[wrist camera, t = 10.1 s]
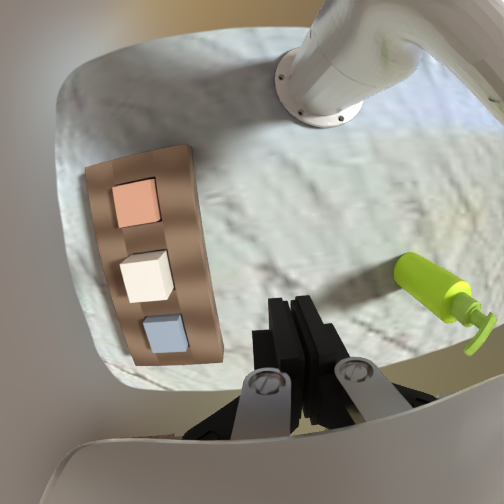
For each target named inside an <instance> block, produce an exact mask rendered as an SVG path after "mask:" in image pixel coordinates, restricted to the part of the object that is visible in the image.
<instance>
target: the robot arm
mask: <svg viewBox="0 0 504 504" xmlns="http://www.w3.org/2000/svg"><path fill="white" fill-rule="evenodd" d="M423 50H425V51H426V52H427V53H429V54H430V55H431V56H432V57H434V58H435V59H436V60H437V61H438V62H439V63H441V64H442V65H443V66H445V67H446V68H448V69H449V70H450V71H451V72H452V73H453V74H454V75H455V76H456V77H457V78H458V79H459V80H460V81H461V82H462V83H463V84H464V85H465V86H466V87H467V88H468V89H469V90H470V91H471V92H472V93H473V94H474V95H475V96H476V97H477V98H478V99H479V101H480V102H481V103H482V104H483V105H484V106H485V107H486V108H487V110H488V111H489V112H490V113H491V114H492V115H493V116H494V117H495V118H496V119H497V120H498V121H499V122H500V123H501V124H502V125H503V126H504V0H325V2H324V4H323V6H322V7H321V9H320V11H319V13H318V15H317V17H316V19H315V20H314V22H313V24H312V26H311V28H310V30H309V32H308V33H307V35H306V37H305V39H304V41H303V43H302V45H301V46H300V47H297V48H294V49H293V50H291V51H289V52H288V53H287V54H286V55H285V56H284V57H283V58H282V59H281V61H280V62H279V64H278V67H277V69H276V73H275V88H276V93H277V95H278V97H279V100H280V101H281V103H282V104H283V106H284V107H285V109H286V110H287V111H288V112H289V113H290V114H291V115H293V116H294V117H295V118H297V119H298V120H300V121H302V122H304V123H306V124H309V125H312V126H315V127H322V128H330V127H336V126H340V125H342V124H345V123H347V122H348V121H350V120H352V119H353V118H354V117H355V116H356V115H357V114H358V112H359V111H360V109H361V107H362V105H363V102H364V100H366V99H368V98H370V97H372V96H374V95H375V94H377V93H379V92H381V91H383V90H386V89H388V88H390V87H392V86H394V85H395V84H397V83H399V82H401V81H403V80H405V79H407V78H408V77H410V76H411V75H412V74H413V73H414V72H415V70H416V69H417V67H418V66H419V64H420V61H421V59H422V54H423ZM279 78H282V80H279ZM298 112H301V115H299V114H298ZM338 118H340V121H339V120H338ZM268 310H269V330H256V331H252V339H253V355H254V371H252V372H251V373H249V374H248V375H247V376H246V377H245V379H244V381H243V386H242V391H241V395H240V396H239V397H237V398H236V399H234V400H233V401H232V402H230V403H229V404H227V405H226V406H224V407H223V408H221V409H220V410H218V411H217V412H215V413H214V414H212V415H211V416H210V417H208V418H206V419H205V420H203V421H202V422H201V423H199V424H197V425H196V426H194V427H193V428H191V429H190V430H188V431H187V432H186V433H185V434H184V436H175V434H165V435H155V436H141V437H122V438H121V437H120V438H115V439H107V440H100V441H94V442H90V443H86V444H82V445H80V446H78V447H76V448H74V449H73V450H71V451H70V452H69V453H68V454H67V455H66V456H65V457H64V458H63V459H62V461H61V462H60V463H59V465H58V467H57V468H56V470H55V471H54V473H53V475H52V477H51V479H50V480H49V483H48V485H47V487H46V489H45V492H44V494H43V496H42V498H41V501H40V503H39V504H504V374H501V375H498V376H495V377H493V378H490V379H487V380H485V381H483V382H480V383H478V384H475V385H473V386H471V387H468V388H466V389H464V390H461V391H458V392H453V393H447V394H440V395H438V396H437V398H435V397H434V396H432V395H430V394H427V393H424V392H420V391H417V390H414V389H410V388H407V387H404V386H401V385H397V384H394V383H391V382H390V381H389V380H388V379H387V377H386V376H385V375H384V374H383V373H382V372H381V370H380V369H379V368H378V367H377V366H376V365H375V364H374V363H373V362H372V361H370V360H368V359H366V358H361V357H350V356H349V354H348V352H347V350H346V348H345V346H344V344H343V342H342V341H341V339H340V337H339V335H338V333H337V331H336V329H335V327H334V326H333V324H332V323H329V324H323V322H322V320H321V318H320V316H319V314H318V312H317V310H316V308H315V306H314V304H313V301H312V299H311V297H310V296H309V295H306V296H296V297H295V300H291V311H290V308H289V304H288V301H283V300H282V298H270V299H268ZM302 409H303V413H304V417H305V418H310V421H311V425H317V424H319V425H321V426H323V427H325V430H324V431H321V432H315V433H308V434H301V435H294V436H290V434H291V433H292V432H293V431H294V430H295V429H296V428H297V427H298V426H299V419H301V411H302Z"/></svg>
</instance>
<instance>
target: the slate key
mask: <svg viewBox="0 0 504 504" xmlns="http://www.w3.org/2000/svg"><path fill="white" fill-rule="evenodd" d="M143 324H144V328H145V331H146V334H147V337H148V340H149V343H150V346H151V349H152V352H153V353H166V352H186V350H187V347H188V343H189V341H188V337H187V333H186V330H185V326H184V322H183V318H182V314H181V313H178V314H166V315H152V316H147V317H146V319H145V321H144V322H143Z"/></svg>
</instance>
